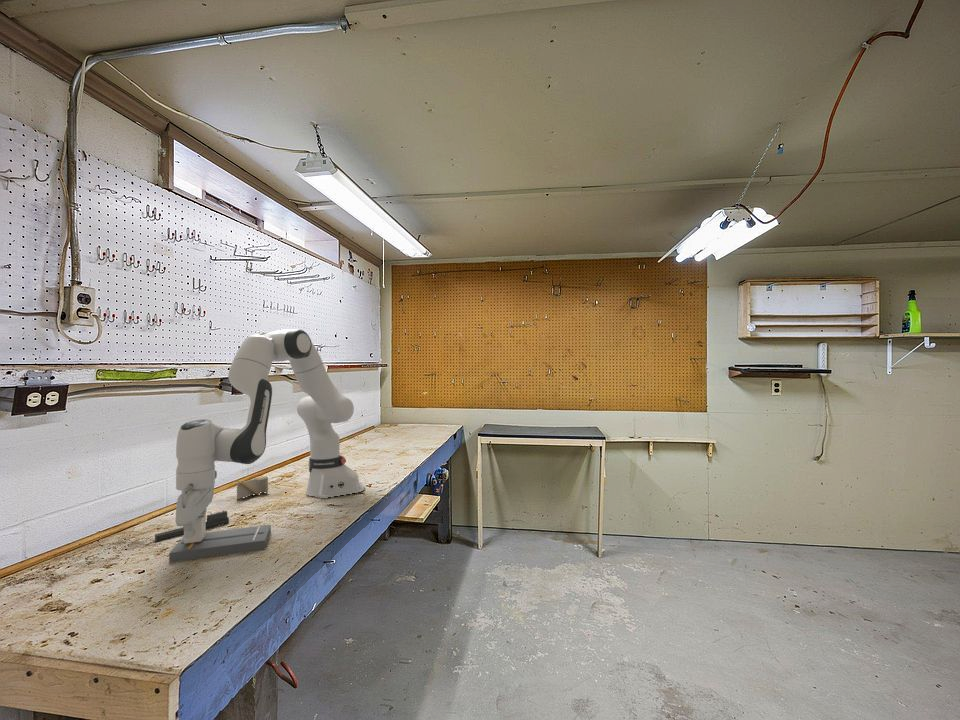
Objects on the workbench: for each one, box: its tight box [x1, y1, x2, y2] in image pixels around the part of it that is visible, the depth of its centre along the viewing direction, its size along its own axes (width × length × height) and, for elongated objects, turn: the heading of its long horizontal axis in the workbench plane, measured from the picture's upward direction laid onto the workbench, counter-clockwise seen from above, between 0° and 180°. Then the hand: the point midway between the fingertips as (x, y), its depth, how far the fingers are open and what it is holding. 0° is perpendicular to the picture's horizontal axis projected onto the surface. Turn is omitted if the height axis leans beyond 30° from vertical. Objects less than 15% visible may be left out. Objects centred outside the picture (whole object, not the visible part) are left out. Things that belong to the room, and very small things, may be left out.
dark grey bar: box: [154, 510, 230, 542], centre depth 126 cm, size 19×3×4 cm, turn 139°
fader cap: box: [183, 513, 207, 543], centre depth 112 cm, size 4×4×6 cm
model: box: [236, 475, 269, 500], centre depth 159 cm, size 3×11×8 cm, turn 154°
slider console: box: [168, 524, 272, 563], centre depth 115 cm, size 22×12×3 cm, turn 110°
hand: (195, 530), depth 113 cm, fingers open, 8 cm apart
